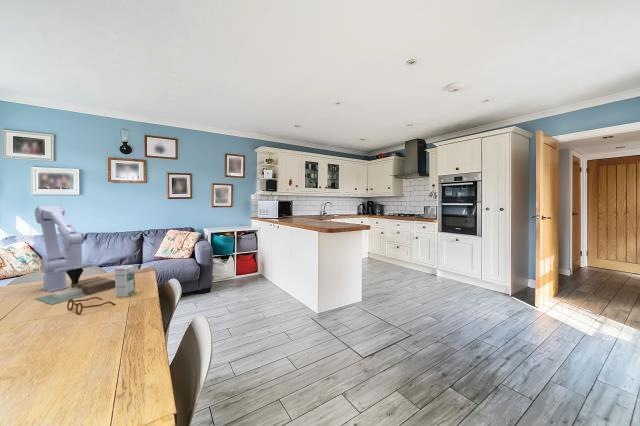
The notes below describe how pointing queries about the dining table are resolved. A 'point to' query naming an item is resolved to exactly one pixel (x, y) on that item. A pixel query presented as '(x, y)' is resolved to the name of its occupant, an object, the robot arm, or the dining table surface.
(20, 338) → the dining table surface
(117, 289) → the syrup box
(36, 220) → the robot arm
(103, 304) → the glasses
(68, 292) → the flat white box
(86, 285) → the plate
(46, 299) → the mat
